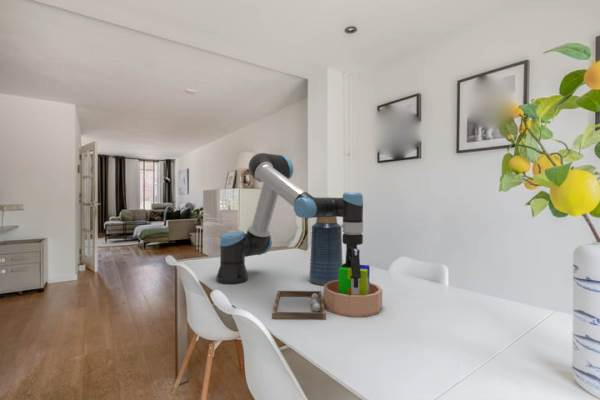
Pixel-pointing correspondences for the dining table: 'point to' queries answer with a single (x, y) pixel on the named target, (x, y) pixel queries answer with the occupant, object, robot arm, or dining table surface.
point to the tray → (298, 314)
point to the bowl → (352, 301)
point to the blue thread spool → (325, 250)
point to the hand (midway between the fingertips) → (352, 290)
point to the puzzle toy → (346, 280)
